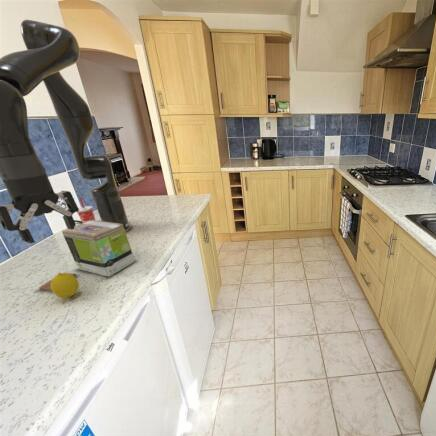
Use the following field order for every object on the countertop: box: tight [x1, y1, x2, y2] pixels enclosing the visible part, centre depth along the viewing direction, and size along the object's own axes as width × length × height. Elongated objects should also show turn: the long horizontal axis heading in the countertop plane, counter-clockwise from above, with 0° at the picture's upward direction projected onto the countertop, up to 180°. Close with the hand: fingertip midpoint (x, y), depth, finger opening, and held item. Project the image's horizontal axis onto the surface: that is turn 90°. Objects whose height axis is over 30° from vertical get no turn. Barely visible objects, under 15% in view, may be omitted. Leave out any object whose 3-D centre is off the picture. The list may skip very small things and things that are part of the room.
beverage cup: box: [76, 197, 96, 224], centre depth 112 cm, size 6×6×14 cm
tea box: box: [61, 219, 135, 278], centre depth 81 cm, size 15×10×15 cm, turn 71°
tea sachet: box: [38, 273, 77, 292], centre depth 75 cm, size 5×7×1 cm
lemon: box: [50, 272, 80, 299], centre depth 68 cm, size 6×6×8 cm
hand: (52, 235), depth 64 cm, fingers open, 8 cm apart
